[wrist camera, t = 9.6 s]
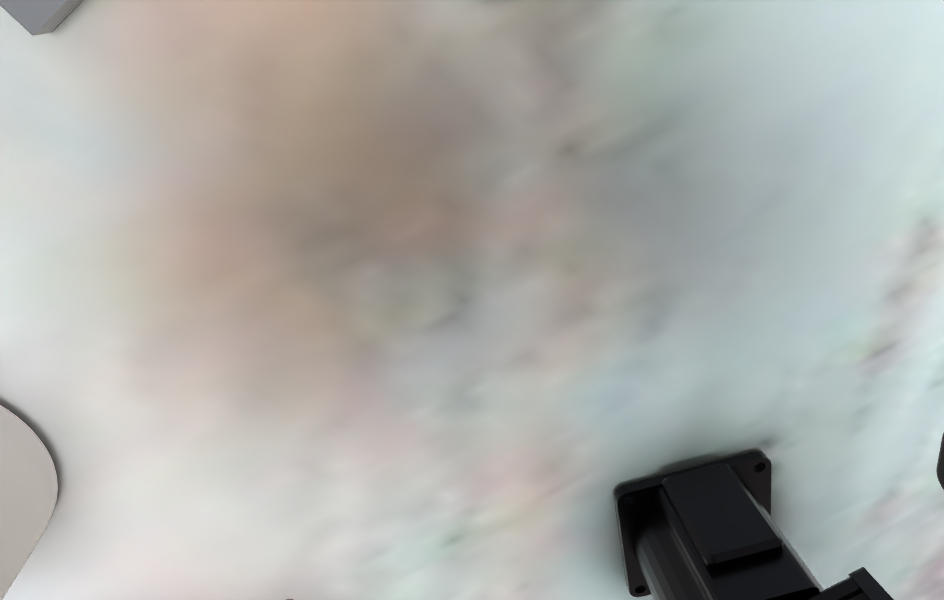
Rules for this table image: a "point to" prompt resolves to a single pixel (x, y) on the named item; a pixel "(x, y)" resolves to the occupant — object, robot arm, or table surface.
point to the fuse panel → (39, 13)
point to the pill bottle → (22, 494)
